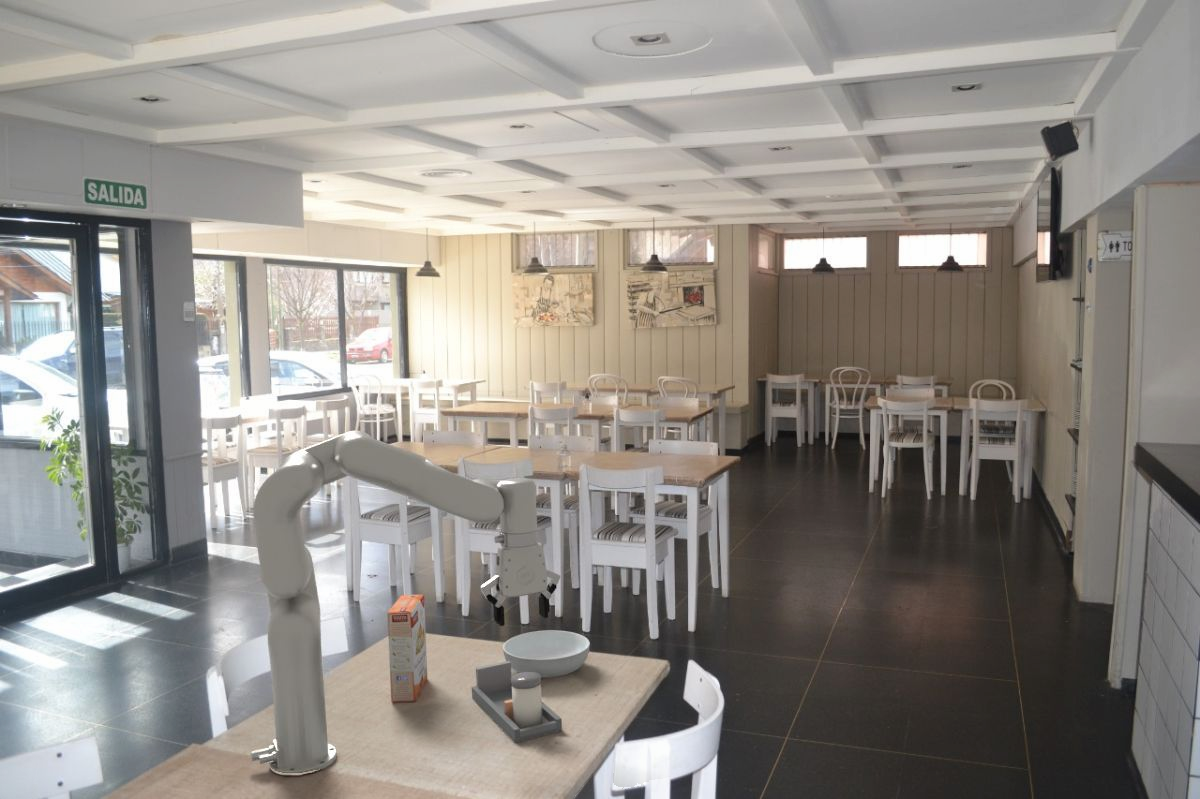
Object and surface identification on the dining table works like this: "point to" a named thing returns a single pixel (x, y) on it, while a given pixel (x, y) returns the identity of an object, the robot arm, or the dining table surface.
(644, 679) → the dining table surface
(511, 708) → the pusher
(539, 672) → the serving bowl
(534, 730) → the lane
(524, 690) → the jar
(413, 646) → the cracker box
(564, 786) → the dining table surface
